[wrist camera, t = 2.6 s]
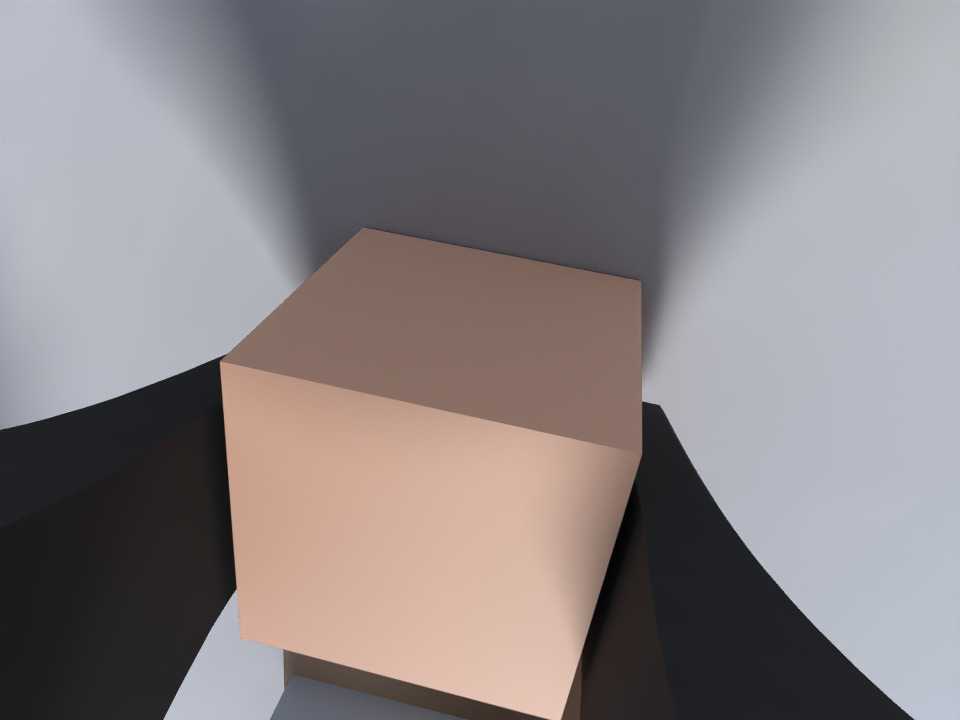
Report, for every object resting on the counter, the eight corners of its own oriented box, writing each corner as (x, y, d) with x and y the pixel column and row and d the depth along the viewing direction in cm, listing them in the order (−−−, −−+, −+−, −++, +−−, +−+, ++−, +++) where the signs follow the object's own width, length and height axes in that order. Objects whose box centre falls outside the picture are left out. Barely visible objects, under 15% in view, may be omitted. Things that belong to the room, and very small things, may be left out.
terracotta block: (353, 447, 14) (239, 637, 10) (362, 227, 11) (220, 361, 7) (583, 500, 13) (559, 722, 9) (641, 280, 11) (642, 453, 7)
